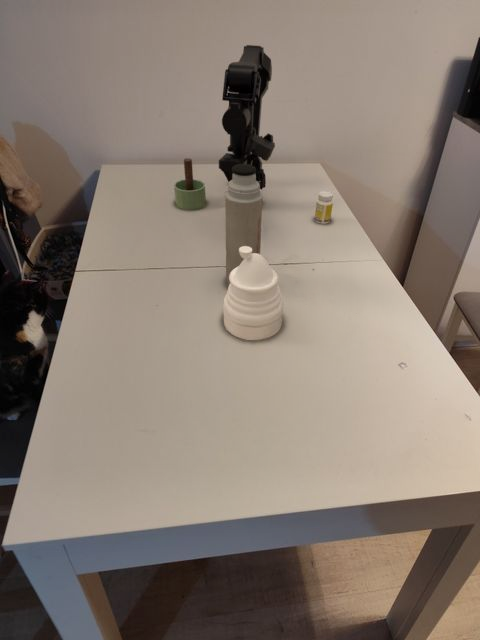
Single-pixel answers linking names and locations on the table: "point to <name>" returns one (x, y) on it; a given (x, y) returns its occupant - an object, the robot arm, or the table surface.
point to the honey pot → (253, 299)
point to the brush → (188, 175)
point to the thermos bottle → (242, 215)
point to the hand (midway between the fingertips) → (240, 186)
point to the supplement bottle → (324, 207)
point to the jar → (190, 195)
